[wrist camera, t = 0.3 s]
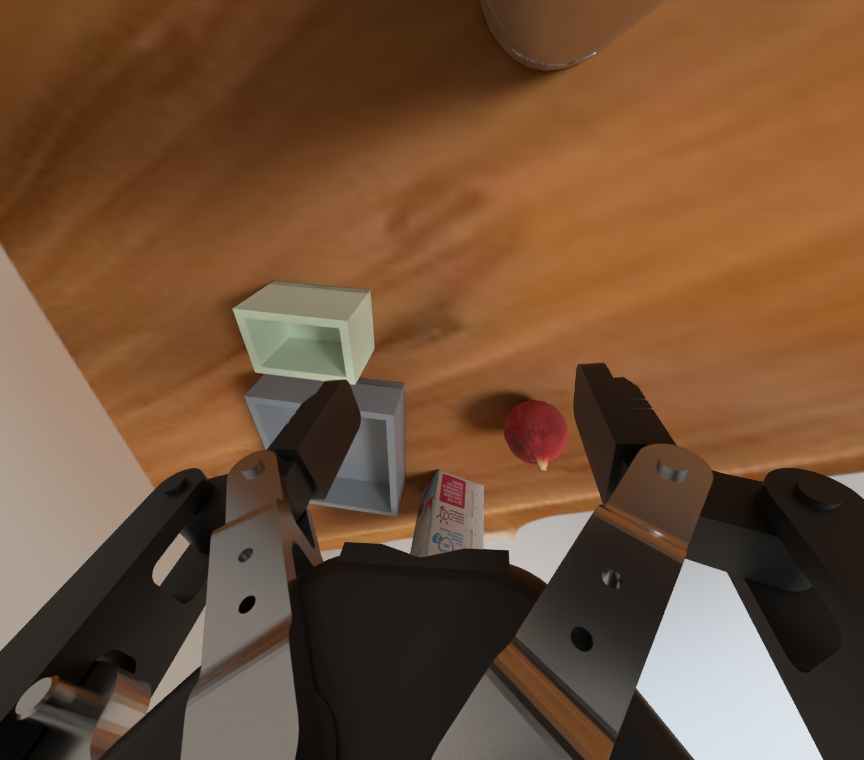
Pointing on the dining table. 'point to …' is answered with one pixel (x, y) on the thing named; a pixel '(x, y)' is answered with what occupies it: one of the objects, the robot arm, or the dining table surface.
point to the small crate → (308, 330)
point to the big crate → (370, 450)
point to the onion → (536, 432)
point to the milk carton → (449, 516)
